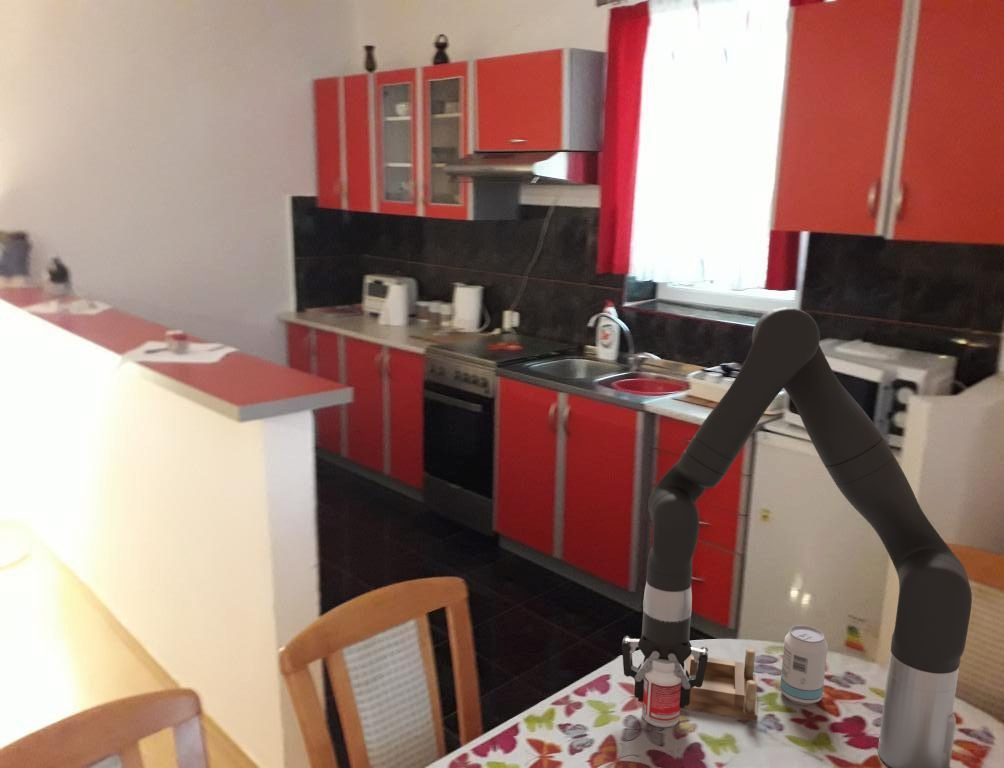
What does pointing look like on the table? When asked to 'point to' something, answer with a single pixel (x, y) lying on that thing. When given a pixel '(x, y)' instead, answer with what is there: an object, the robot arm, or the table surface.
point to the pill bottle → (661, 694)
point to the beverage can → (803, 665)
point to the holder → (725, 687)
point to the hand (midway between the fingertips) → (661, 702)
